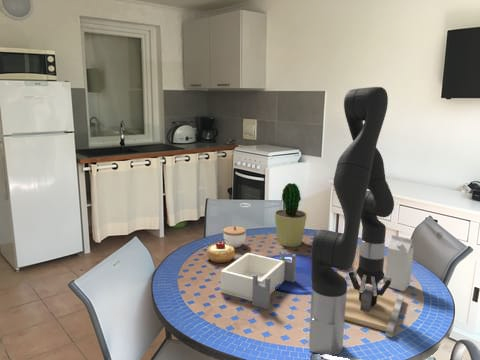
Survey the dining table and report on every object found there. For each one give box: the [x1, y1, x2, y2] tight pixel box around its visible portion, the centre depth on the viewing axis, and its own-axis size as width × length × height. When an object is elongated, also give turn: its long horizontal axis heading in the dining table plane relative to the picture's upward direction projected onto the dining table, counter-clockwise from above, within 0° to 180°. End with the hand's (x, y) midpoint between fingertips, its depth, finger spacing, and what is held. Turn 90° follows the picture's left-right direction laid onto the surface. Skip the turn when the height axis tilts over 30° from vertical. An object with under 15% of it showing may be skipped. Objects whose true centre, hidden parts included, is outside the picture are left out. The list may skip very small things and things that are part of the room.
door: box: [345, 285, 405, 338], centre depth 128 cm, size 25×18×6 cm
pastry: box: [206, 238, 236, 264], centre depth 169 cm, size 12×12×9 cm
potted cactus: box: [274, 182, 308, 248], centre depth 188 cm, size 15×15×30 cm
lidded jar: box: [223, 225, 247, 249], centre depth 185 cm, size 11×11×9 cm
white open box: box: [220, 251, 297, 310], centre depth 143 cm, size 25×20×10 cm
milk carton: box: [384, 234, 415, 292], centre depth 145 cm, size 7×7×19 cm
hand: (367, 303), depth 129 cm, fingers closed on door, 2 cm apart
